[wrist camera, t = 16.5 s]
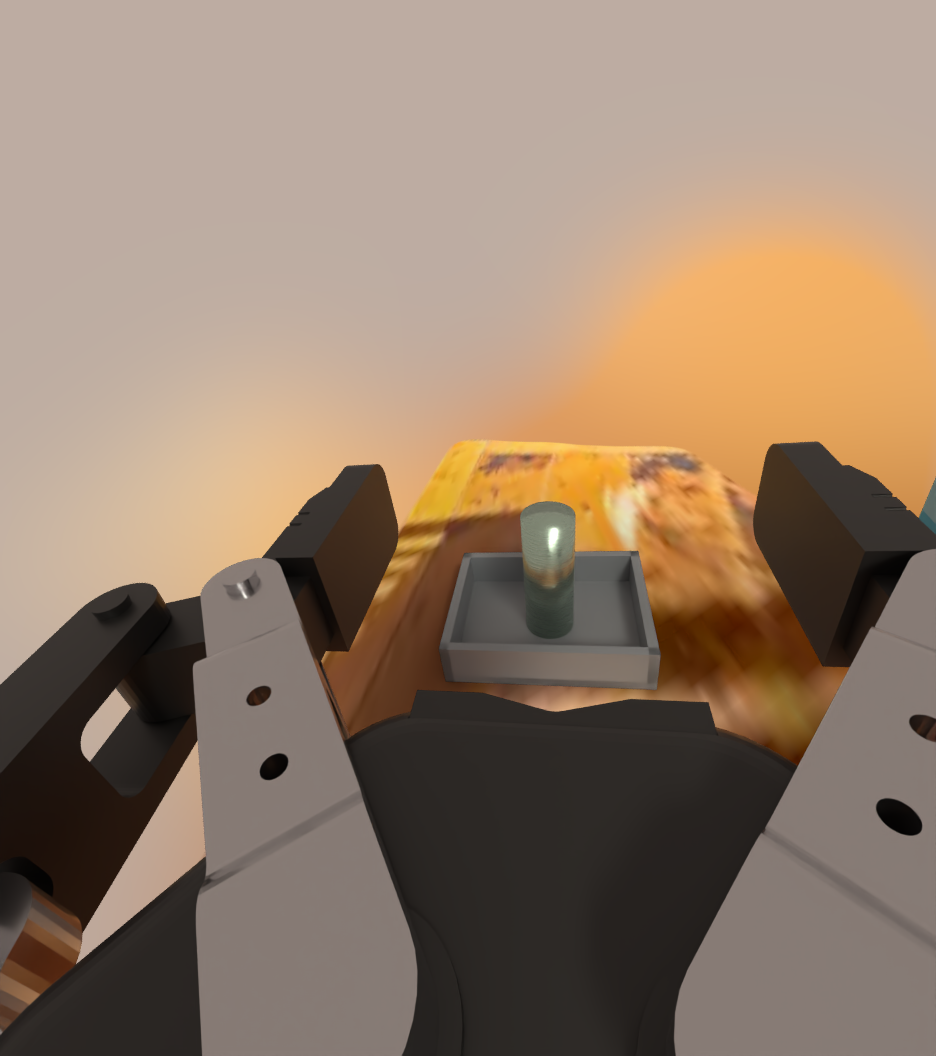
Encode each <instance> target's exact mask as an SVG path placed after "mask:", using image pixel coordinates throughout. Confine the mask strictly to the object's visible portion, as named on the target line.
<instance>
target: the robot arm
mask: <svg viewBox="0 0 936 1056" xmlns="http://www.w3.org/2000/svg"><path fill="white" fill-rule="evenodd" d="M298 513H299V514H298V515H297V516H295V517H294V519H293V520H292V521H291V522H290V526H288V527H286V529H285V530H284V531H283V532H282V534H281V535H280V536H279V537H278V538H277V540H276V541H275V542H274V544H273V545H272V546H271V547H270V548H269V550H268V551H267V552H266V553H265V555H264V556H263V557H262V558H256V559H250V560H245V561H242V562H239V563H236V564H234V565H231V566H229V567H227V568H225V569H223V570H222V571H220V572H219V573H217V574H216V575H215V576H213V577H212V578H211V579H210V580H209V581H208V582H207V583H206V585H205V586H204V587H203V589H202V592H201V596H197V597H193V598H189V599H184V600H179V601H175V602H170V603H166V604H165V602H164V600H163V599H162V597H161V596H160V594H159V592H158V591H157V589H156V588H155V587H154V586H153V585H151V584H147V583H135V584H130V585H126V586H122V587H119V588H116V589H113V590H111V591H109V592H106V593H104V594H102V595H101V596H99V597H97V598H95V599H94V600H92V601H91V602H89V603H88V604H86V605H85V606H84V607H83V608H82V609H80V610H79V611H78V612H77V613H76V614H75V615H74V616H73V617H72V618H71V619H70V620H69V621H68V622H66V623H65V624H64V625H63V626H62V627H61V628H60V629H59V630H58V631H57V632H56V633H55V634H54V635H53V636H52V637H51V638H49V639H48V640H47V641H46V642H45V643H44V644H43V645H42V646H41V647H40V648H39V649H38V650H37V651H36V652H35V653H34V654H33V655H31V656H30V657H29V658H28V659H27V660H26V661H25V662H24V663H23V664H22V665H21V666H20V667H19V668H18V669H17V670H16V671H14V673H12V674H11V675H10V676H9V677H8V678H7V679H6V680H5V681H4V682H3V683H2V684H1V685H0V1056H936V534H935V533H934V532H933V531H931V530H930V529H929V528H928V527H927V526H926V525H925V524H924V523H923V522H922V521H921V520H920V519H919V518H918V517H917V516H916V515H915V514H914V513H912V512H911V511H910V510H906V506H905V505H904V504H903V503H902V502H901V501H900V500H899V499H897V497H892V493H891V492H890V491H889V490H888V489H887V488H886V487H885V486H884V485H883V484H882V483H880V481H879V480H878V479H876V478H875V477H873V476H871V475H869V474H866V473H864V472H862V471H860V470H858V469H856V468H854V467H852V466H850V465H845V466H842V465H841V464H840V463H839V462H838V461H837V460H836V459H835V458H834V457H833V456H832V455H831V454H830V452H829V451H828V450H826V448H825V447H824V446H823V445H822V444H820V443H819V442H800V443H780V444H772V445H771V446H770V447H769V449H768V451H767V454H766V457H765V462H764V467H763V472H762V477H761V482H760V486H759V491H758V496H757V501H756V506H755V510H754V518H753V528H754V535H755V539H756V542H757V544H758V546H759V548H760V550H761V552H762V554H763V555H764V557H765V559H766V561H767V563H768V565H769V567H770V568H771V570H772V572H773V574H774V576H775V578H776V580H777V582H778V583H779V585H780V587H781V589H782V591H783V593H784V595H785V597H786V598H787V600H788V602H789V604H790V606H791V608H792V610H793V611H794V613H795V615H796V617H797V619H798V621H799V623H800V625H801V626H802V628H803V630H804V632H805V634H806V636H807V638H808V639H809V641H810V643H811V645H812V647H813V649H814V651H815V653H816V654H817V656H818V658H819V660H820V662H821V664H822V666H829V667H850V668H849V670H848V672H847V674H846V676H845V678H844V680H843V682H842V683H841V685H840V687H839V689H838V691H837V693H836V695H835V697H834V699H833V701H832V702H831V704H830V706H829V708H828V710H827V712H826V714H825V716H824V718H823V720H822V722H821V723H820V725H819V727H818V729H817V731H816V733H815V735H814V737H813V739H812V741H811V743H810V744H809V746H808V748H807V750H806V752H805V754H804V756H803V758H802V760H801V762H800V763H799V765H798V766H797V765H795V764H794V763H793V762H791V761H790V760H788V759H787V758H785V757H783V756H781V755H780V754H778V753H776V752H774V751H773V750H771V749H769V748H767V747H765V746H763V745H761V744H759V743H757V742H755V741H753V740H750V739H748V738H746V737H743V736H741V735H738V734H735V733H732V732H730V731H727V730H723V729H720V728H716V727H715V724H714V721H713V717H712V713H711V710H710V706H709V703H708V702H685V701H662V700H639V699H628V700H623V701H617V702H611V703H606V704H600V705H594V706H589V707H583V708H577V709H572V710H566V711H559V712H552V711H547V710H543V709H539V708H536V707H532V706H528V705H525V704H521V703H518V702H514V701H510V700H507V699H503V698H500V697H496V696H492V695H489V694H485V693H475V692H452V691H428V690H417V693H416V696H415V700H414V703H413V706H412V710H411V712H408V713H403V714H400V715H396V716H393V717H390V718H387V719H384V720H382V721H380V722H377V723H375V724H372V725H371V726H369V727H367V728H365V729H363V730H361V731H359V732H358V733H356V734H355V735H353V736H352V737H350V734H349V732H348V729H347V726H346V724H345V721H344V719H343V716H342V713H341V711H340V708H339V705H338V703H337V700H336V698H335V695H334V692H333V690H332V687H331V685H330V682H329V679H328V677H327V674H326V672H325V669H324V667H323V664H322V662H321V660H322V658H323V656H324V654H325V652H326V651H346V652H349V650H350V647H351V645H352V643H353V641H354V639H355V636H356V634H357V632H358V630H359V628H360V626H361V623H362V621H363V619H364V617H365V615H366V613H367V610H368V608H369V606H370V604H371V602H372V600H373V597H374V595H375V593H376V591H377V589H378V587H379V584H380V582H381V580H382V578H383V576H384V573H385V571H386V569H387V567H388V565H389V563H390V560H391V558H392V556H393V554H394V552H395V550H396V547H397V543H398V524H397V519H396V516H395V511H394V508H393V503H392V499H391V496H390V491H389V488H388V484H387V480H386V476H385V472H384V470H383V468H382V467H381V466H380V465H378V464H375V465H374V464H373V465H356V466H355V465H354V466H346V467H345V468H344V469H343V471H342V472H341V473H340V474H339V476H338V477H337V478H336V480H335V481H334V482H333V484H332V485H331V486H330V487H329V488H325V489H324V490H322V491H321V492H319V493H318V494H316V495H315V496H313V497H312V498H310V499H309V500H308V501H307V503H306V504H305V505H304V506H303V507H302V509H301V510H300V511H299V512H298ZM115 688H116V689H117V690H118V692H119V693H120V694H121V696H122V697H123V698H124V699H125V701H126V702H127V703H128V704H129V706H130V707H131V709H130V710H129V711H128V713H127V714H126V715H125V717H124V718H123V719H122V721H121V722H120V723H119V725H118V726H117V727H116V728H115V730H114V731H113V732H112V734H111V735H110V736H109V738H108V739H107V740H106V742H105V743H104V744H103V745H102V747H101V748H100V749H99V751H98V752H97V753H96V755H95V756H94V757H93V759H92V760H91V761H90V762H89V761H88V760H87V759H86V758H85V756H84V755H83V753H82V751H81V736H82V732H83V730H84V728H85V726H86V724H87V722H88V721H89V720H90V718H91V717H92V716H93V715H94V714H95V712H96V711H97V710H98V709H99V707H100V706H101V705H102V704H103V703H104V701H105V700H106V699H107V698H108V697H109V695H110V694H111V693H112V691H113V690H114V689H115ZM197 740H198V752H199V765H200V780H201V794H202V808H203V822H204V836H205V850H206V857H204V858H203V859H202V860H201V861H200V862H198V863H197V864H196V865H195V866H194V867H192V868H191V869H190V870H189V871H188V872H186V873H185V874H184V875H183V876H182V877H180V878H179V879H178V880H177V881H176V882H174V883H173V884H172V885H171V886H170V887H168V888H167V889H166V890H165V891H164V892H162V893H161V894H160V895H159V896H158V897H156V898H155V899H154V900H153V901H152V902H150V903H149V904H148V905H147V906H146V907H144V908H143V909H142V910H141V911H140V912H138V913H137V914H136V915H135V916H134V917H133V918H131V919H130V920H129V921H128V922H126V923H125V924H124V925H123V926H122V927H120V928H119V929H118V930H117V931H116V932H114V933H113V934H112V935H111V936H110V937H108V938H107V939H106V940H105V941H104V942H102V943H101V944H100V945H99V946H98V947H96V948H95V949H94V950H93V951H92V952H90V953H89V954H88V955H87V956H86V957H84V958H83V959H82V960H81V961H80V962H78V963H77V964H76V962H77V959H78V956H79V953H80V949H81V944H82V933H83V931H84V930H85V928H86V926H87V925H88V923H89V921H90V920H91V918H92V916H93V915H94V913H95V911H96V910H97V908H98V906H99V905H100V903H101V901H102V900H103V898H104V896H105V895H106V893H107V891H108V889H109V888H110V886H111V885H112V883H113V881H114V879H115V878H116V876H117V874H118V873H119V871H120V869H121V868H122V866H123V864H124V862H125V861H126V859H127V858H128V856H129V854H130V852H131V851H132V849H133V848H134V846H135V844H136V843H137V841H138V839H139V838H140V836H141V834H142V833H143V831H144V829H145V827H146V826H147V824H148V822H149V821H150V819H151V817H152V816H153V814H154V812H155V811H156V809H157V807H158V806H159V804H160V802H161V801H162V799H163V797H164V795H165V794H166V792H167V790H168V789H169V787H170V786H171V784H172V782H173V781H174V779H175V777H176V776H177V774H178V772H179V771H180V769H181V767H182V766H183V764H184V762H185V760H186V759H187V757H188V755H189V754H190V752H191V750H192V749H193V747H194V745H195V744H196V742H197Z"/></svg>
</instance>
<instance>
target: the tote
mask: <svg viewBox="0 0 936 1056" xmlns="http://www.w3.org/2000/svg"><path fill="white" fill-rule="evenodd" d="M439 653H440V658H441V662H442V666H443V671H444V675H445V680H446V681H450V682H475V683H501V684H526V685H551V686H576V687H602V688H627V689H652V690H657V682H658V673H659V664H660V656H661V655H660V650H659V646H658V641H657V636H656V632H655V627H654V622H653V618H652V613H651V608H650V604H649V599H648V594H647V589H646V585H645V580H644V575H643V571H642V566H641V561H640V557H639V552H638V551H593V552H575V564H574V623H573V628H572V629H571V631H570V632H569V633H568V634H567V635H565V636H563V637H561V638H557V639H544V638H540V637H538V636H536V635H534V634H533V633H532V632H531V631H530V630H529V629H528V627H527V623H526V607H525V590H524V572H523V554H522V552H508V553H464V556H463V560H462V564H461V567H460V571H459V575H458V579H457V582H456V586H455V590H454V594H453V597H452V601H451V605H450V609H449V612H448V616H447V620H446V624H445V627H444V631H443V635H442V639H441V642H440V646H439Z"/></svg>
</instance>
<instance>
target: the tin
mask: <svg viewBox="0 0 936 1056" xmlns="http://www.w3.org/2000/svg"><path fill="white" fill-rule="evenodd" d="M520 519H521V537H522V554H523V572H524V590H525V607H526V623H527V627H528V629H529V630H530V631H531V632H532V633H533V634H534V635H536V636H538V637H540V638H544V639H557V638H561V637H563V636H565V635H567V634H568V633H569V632H570V631H571V629H572V628H573V623H574V564H575V512H574V511H573V509H572V508H570V507H569V506H567V505H565V504H562V503H559V502H550V501H548V502H539V503H535V504H532V505H530V506H528V507H526V508H525V509H524V510H523V511H522V513H521V516H520Z"/></svg>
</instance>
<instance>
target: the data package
mask: <svg viewBox="0 0 936 1056" xmlns="http://www.w3.org/2000/svg"><path fill="white" fill-rule="evenodd" d="M919 519H920V520H921V521H922V522H923V523H924V524H925V525H926V526H927V527H928V528H929V529H930V530H931V531H933V532H934V533H935V534H936V478H935V481H934V483H933V485H932V488H931V490H930V493H929V495H928V497H927V500H926V502H925V504H924V507H923V509H922V511H921V514H920V516H919Z"/></svg>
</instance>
